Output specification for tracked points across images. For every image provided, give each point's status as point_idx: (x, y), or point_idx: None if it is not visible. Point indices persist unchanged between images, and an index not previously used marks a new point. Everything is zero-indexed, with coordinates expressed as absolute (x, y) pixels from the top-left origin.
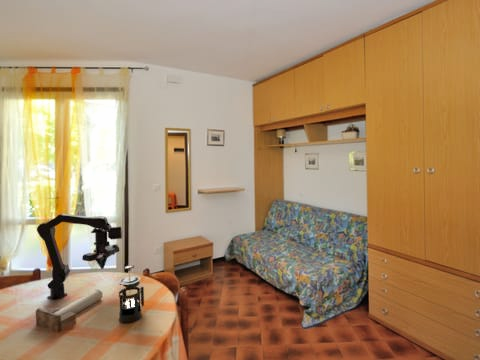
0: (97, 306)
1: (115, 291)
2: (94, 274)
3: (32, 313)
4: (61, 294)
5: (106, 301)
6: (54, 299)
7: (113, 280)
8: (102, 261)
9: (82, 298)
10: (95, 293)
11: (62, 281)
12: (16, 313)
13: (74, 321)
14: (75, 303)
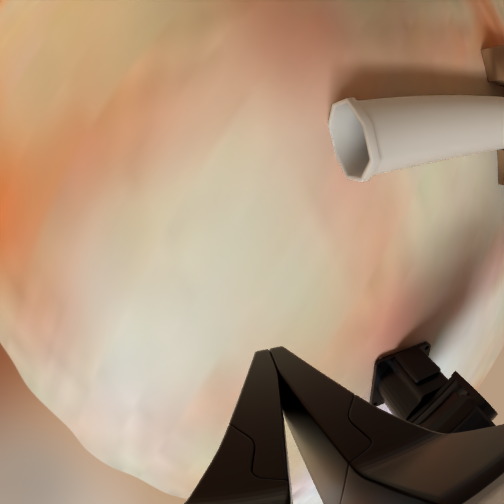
0: (386, 61)
1: (188, 144)
2: (153, 472)
3: (500, 285)
4: (415, 355)
5: (324, 59)
6: (429, 345)
7: (99, 345)
8: (356, 434)
9: (469, 128)
10: (398, 114)
11: (457, 394)
12: (501, 327)
13: (488, 49)
14: (498, 115)
